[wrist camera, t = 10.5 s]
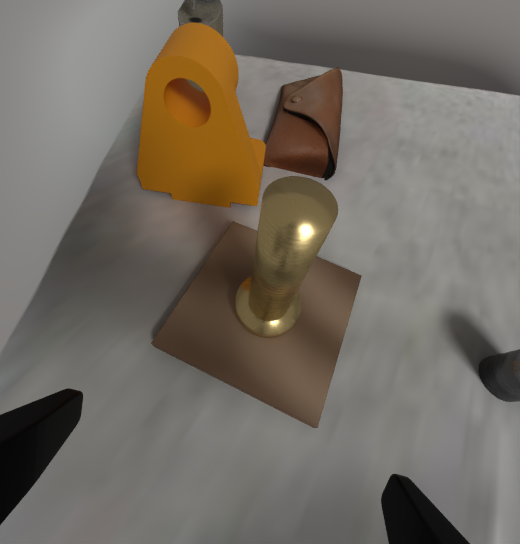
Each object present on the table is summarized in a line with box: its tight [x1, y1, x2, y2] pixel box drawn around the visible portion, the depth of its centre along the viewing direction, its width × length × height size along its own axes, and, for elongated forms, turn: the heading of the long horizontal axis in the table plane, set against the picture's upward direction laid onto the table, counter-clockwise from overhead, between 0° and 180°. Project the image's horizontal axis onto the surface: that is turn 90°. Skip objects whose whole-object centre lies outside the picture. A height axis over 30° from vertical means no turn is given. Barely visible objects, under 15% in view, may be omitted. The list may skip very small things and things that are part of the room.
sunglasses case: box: [263, 67, 343, 180], centre depth 32 cm, size 18×7×7 cm, turn 170°
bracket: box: [137, 23, 266, 208], centre depth 22 cm, size 11×7×12 cm, turn 84°
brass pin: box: [235, 176, 338, 338], centre depth 15 cm, size 5×5×11 cm
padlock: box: [178, 0, 223, 92], centre depth 28 cm, size 4×8×15 cm, turn 175°
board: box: [151, 221, 361, 428], centre depth 20 cm, size 12×12×1 cm
